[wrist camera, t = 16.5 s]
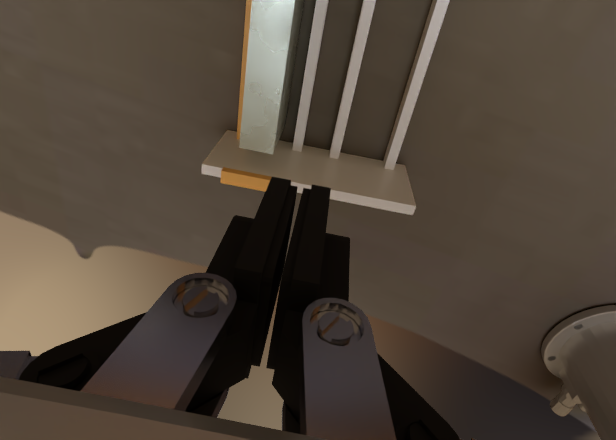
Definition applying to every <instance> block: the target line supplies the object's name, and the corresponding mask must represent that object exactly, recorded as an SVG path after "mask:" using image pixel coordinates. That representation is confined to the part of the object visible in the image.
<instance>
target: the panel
mask: <svg viewBox="0 0 616 440" xmlns="http://www.w3.org/2000/svg"><path fill="white" fill-rule="evenodd" d="M303 7H304V0H252V5H251V16H250V28H249V39H248V51H247V62H246V74H245V85H244V97H243V108H242V120H241V131H240V143H239V148H244V149H248V150H253V151H258V152H263V153H268V154H274V151H275V149H276V146H277V144H278V141H279V139H280V136H281V134H282V131H283V129H284V127H285V124H286V117H287V111H288V104H289V98H290V91H291V85H292V78H293V72H294V65H295V59H296V52H297V46H298V39H299V33H300V26H301V20H302V13H303Z"/></svg>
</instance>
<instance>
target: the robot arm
mask: <svg viewBox="0 0 616 440" xmlns="http://www.w3.org/2000/svg"><path fill="white" fill-rule="evenodd" d="M297 188H298V187H297V186H292V185H291V180H288V179H283V178H277V177H271V180H270V182H269V185H268V187H267V189H266V192H265V194H264V197H263V199H262V202H261V204H260V206H259V209H258V211H257V214H256V216H255V218H254V219H252V218H247V217H242V216H237V215H236V216H234V217H233V219H232V221H231V223H230V225H229V227H228V229H227V231H226V233H225V235H224V237H223V239H222V241H221V243H220V245H219V247H218V249H217V251H216V253H215V255H214V257H213V259H212V261H211V263H210V265H209V267H208V269H207V271H206V273H195V274H190V275H186V276H184V277H182V278H180V279H177V280H176V281H175V282H174V283H172V284H171V285H170V286H169V287H168V288H167V289H166V291H165V292H164V293H163V294H162V295H161V297H160V298H159V299H158V300H157V301H156V302H155V304H154V305H153V306H152V307H151V308H150V309H149V311H148V312H146V313H143V314H140V315H138V316H135V317H133V318H130V319H127V320H125V321H122V322H119V323H117V324H114V325H111V326H109V327H106V328H104V329H101V330H98V331H96V332H93V333H90V334H88V335H85V336H83V337H80V338H77V339H75V340H72V341H69V342H67V343H64V344H61V345H59V346H56V347H54V348H52V349H50V350H48V351H46V352H44V353H42V354H41V355H40V356H31V353H30V351H0V440H462V439H460V438H459V437H458V435H457V434H456V432H455V431H454V430H453V429H452V428H451V426H450V425H449V424H448V423H447V422H446V421H445V420H444V419H443V418H442V417H441V416H440V415H439V414H438V413H437V412H436V411H435V410H434V409H433V408H432V407H431V406H430V405H429V404H428V403H427V402H426V401H425V400H424V399H423V398H422V397H421V396H420V395H419V394H418V393H417V392H416V391H415V390H414V389H413V388H412V387H411V386H410V385H409V384H408V383H407V382H406V381H405V380H404V379H403V378H402V377H401V376H400V375H399V374H398V373H397V372H396V371H395V370H394V369H393V368H392V367H391V366H390V365H389V364H388V363H387V362H386V361H385V360H384V359H383V358H382V357H381V356H380V355H379V354H378V353H377V351H376V346H375V342H374V337H373V334H372V328H371V325H370V322H369V320H368V318H367V316H366V315H365V314H364V313H363V311H362V310H361V309H359V308H358V307H357V306H355V305H354V304H352V303H350V302H348V297H349V257H350V238H349V237H344V236H339V235H334V234H328V233H326V225H327V216H328V208H329V200H330V191H331V188H328V187H323V186H318V185H313V184H312V187H311V189H307V188H303V192H302V196H301V200H300V204H299V208H298V212H297V216H296V221H295V225H294V229H293V233H292V237H291V241H290V245H289V249H288V253H287V247H288V241H289V235H290V229H291V224H292V218H293V212H294V206H295V200H296V194H297ZM286 253H287V257H286ZM285 259H286V261H285ZM284 264H285V265H284ZM283 269H284V270H283ZM282 273H283V274H282ZM281 277H282V279H281ZM280 282H281V284H280ZM279 286H280V290H279ZM278 290H279V296H278V302H277V308H276V314H275V320H274V326H273V332H272V337H271V343H270V350H269V355H268V362H267V368H270V369H275V371H274V376H273V381H272V385H273V386H274V388H275V389H276V390H277V392H278V393H279V394H280V396H281V397H282V399H283V400H284V402H283V408H282V431H281V430H276V429H271V428H265V427H261V426H256V425H251V424H245V423H240V422H235V421H230V420H225V419H220V418H217V416H218V414H219V412H220V410H221V408H222V406H223V404H224V402H225V400H226V398H227V394H228V391H229V387H231V386H233V385H235V384H236V383H238V382H240V381H242V380H243V379H245V378H248V376H249V373H250V369H251V365H254V366H260V363H261V358H262V355H263V351H264V347H265V343H266V339H267V334H268V331H269V326H270V322H271V318H272V314H273V310H274V306H275V302H276V298H277V293H278ZM541 355H542V358H543V361H544V363H545V365H546V367H547V369H548V370H549V371H550V372H551V373H552V374H553V375H555V376H557V377H558V378H560V379H562V381H563V383H564V384H563V385H562V387H561V389H562V392H561V393H559V394H558V395H557V396H556V397H555V398H554V399H553V400H552V401H551V402H550V407H551V409H552V410H553V411H554V412H555V413H556V414H558V415H559V416H566V415H567V414H568V413H569V412H570V411H571V410H572V409H573V408H574V406H575V404H576V403H577V404H578V406H579V408H580V409H581V410H582V411H584V412H587V414H588V416H589V418H590V420H591V422H592V424H593V426H594V427H595V429H596V431H597V433H598V435H599V437H600V439H601V440H616V305H608V306H602V307H596V308H592V309H589V310H585V311H582V312H580V313H577V314H575V315H573V316H571V317H569V318H567V319H565V320H564V321H562V322H561V323H559V324H558V325H557V326H555V327H554V328H553V329H552V330H551V331H550V332H549V333H548V335H547V336H546V338H545V339H544V341H543V344H542V347H541ZM470 440H476V439H474V438H471V439H470Z"/></svg>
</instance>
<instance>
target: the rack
mask: <svg viewBox="0 0 616 440" xmlns="http://www.w3.org/2000/svg"><path fill="white" fill-rule="evenodd" d="M449 1H450V0H433V1H432V4H431V8H430V11H429V14H428V17H427V21H426V24H425V27H424V30H423V33H422V37H421V40H420V43H419V46H418V50H417V53H416V56H415V59H414V63H413V66H412V69H411V72H410V75H409V79H408V82H407V85H406V88H405V92H404V95H403V98H402V101H401V104H400V108H399V111H398V114H397V117H396V121H395V124H394V127H393V130H392V134H391V137H390V140H389V143H388V146H387V150H386V153H385V156H384V159H383V161H381V160H376V159H371V158H366V157H361V156H356V155H351V154H346V153H341V152H340V150H341V146H342V142H343V137H344V133H345V129H346V125H347V121H348V116H349V112H350V108H351V104H352V99H353V95H354V91H355V87H356V83H357V78H358V74H359V70H360V66H361V61H362V57H363V53H364V49H365V45H366V40H367V36H368V32H369V28H370V24H371V19H372V15H373V11H374V7H375V2H376V0H363V2H362V7H361V12H360V16H359V21H358V25H357V30H356V34H355V39H354V43H353V48H352V52H351V57H350V61H349V66H348V70H347V75H346V80H345V84H344V89H343V93H342V98H341V102H340V107H339V111H338V116H337V120H336V125H335V129H334V134H333V139H332V143H331V148H330V150H326V149H321V148H316V147H311V146H306V145H303V143H304V138H305V132H306V126H307V121H308V115H309V110H310V104H311V98H312V93H313V87H314V81H315V76H316V70H317V64H318V59H319V53H320V47H321V42H322V36H323V30H324V25H325V19H326V13H327V8H328V2H329V0H316V5H315V11H314V18H313V24H312V30H311V36H310V42H309V49H308V55H307V61H306V67H305V73H304V80H303V86H302V92H301V98H300V105H299V111H298V117H297V123H296V129H295V136H294V142H293V143H291V142H286V141H281V140H279V141H278V144H277V146H276V149H275V151H274V154H268V153H263V152H258V151H253V150H248V149H244V148H239V143H240V131H241V120H242V108H243V97H244V85H245V74H246V62H247V51H248V39H249V28H250V16H251V5H252V0H246V14H245V28H244V42H243V56H242V70H241V84H240V98H239V112H238V125H237V132H236V131H231V130H227V131H226V132H225V134H224V135H223V136H222V138H221V139H220V140H219V142H218V143H217V144H216V146H215V147H214V148H213V150H212V151H211V152H210V154H209V155H208V156H207V158H206V159H205V160H204V162H203V163H202V174H206V175H211V176H216V177H221V183H224V184H229V185H234V186H239V187H244V188H249V189H254V190H259V191H264V192H266V189H267V187H268V185H269V182H270V180H271V177H277V178H283V179H288V180H291V185H292V186H297V187H298V188H297V193H302V192H303V188H307V189H311V187H312V184H313V185H318V186H323V187H328V188H331V191H330V199H333V200H338V201H343V202H348V203H353V204H358V205H363V206H368V207H373V208H378V209H383V210H388V211H393V212H399V213H404V214H409V215H413V213H414V211H415V208H416V204H415V200H414V196H413V193H412V189H411V185H410V182H409V178H408V174H407V170H406V167H405V165H401V164H396V161H397V158H398V155H399V152H400V149H401V146H402V143H403V140H404V137H405V134H406V131H407V128H408V125H409V122H410V119H411V116H412V113H413V110H414V107H415V103H416V100H417V97H418V94H419V91H420V88H421V85H422V82H423V79H424V76H425V73H426V70H427V67H428V64H429V61H430V58H431V55H432V52H433V49H434V46H435V43H436V40H437V37H438V34H439V31H440V28H441V25H442V22H443V19H444V16H445V13H446V10H447V7H448V4H449Z"/></svg>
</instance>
